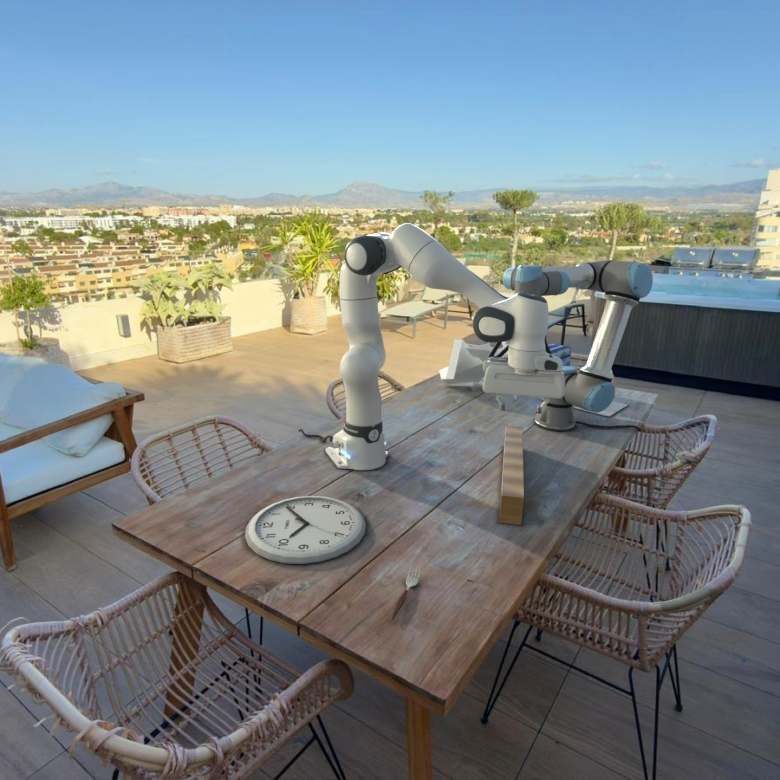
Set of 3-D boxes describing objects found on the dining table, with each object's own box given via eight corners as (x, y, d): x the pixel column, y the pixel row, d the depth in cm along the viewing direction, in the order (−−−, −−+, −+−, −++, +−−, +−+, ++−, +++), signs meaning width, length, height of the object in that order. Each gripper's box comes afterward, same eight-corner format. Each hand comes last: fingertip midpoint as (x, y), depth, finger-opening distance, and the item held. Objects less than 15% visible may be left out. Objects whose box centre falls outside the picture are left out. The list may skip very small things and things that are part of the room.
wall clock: (368, 555, 118) (233, 560, 116) (368, 561, 119) (233, 566, 116) (363, 491, 147) (255, 494, 144) (363, 496, 147) (255, 499, 145)
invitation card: (608, 416, 214) (573, 407, 224) (608, 416, 214) (573, 408, 224) (628, 404, 229) (594, 396, 238) (628, 405, 229) (594, 397, 238)
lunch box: (542, 396, 239) (547, 351, 232) (522, 391, 246) (526, 347, 240) (570, 385, 256) (575, 343, 250) (550, 380, 263) (554, 339, 257)
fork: (385, 619, 101) (385, 611, 101) (410, 571, 116) (411, 563, 115) (398, 623, 100) (398, 614, 100) (422, 574, 115) (422, 566, 114)
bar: (503, 446, 183) (505, 425, 181) (520, 447, 182) (522, 426, 180) (499, 522, 136) (501, 495, 134) (521, 525, 135) (524, 498, 132)
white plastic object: (461, 429, 252) (437, 405, 227) (444, 352, 274) (420, 323, 250) (535, 404, 240) (518, 377, 215) (510, 326, 262) (492, 293, 237)
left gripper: (482, 359, 129) (479, 411, 133) (569, 364, 125) (562, 419, 129) (484, 353, 135) (480, 404, 139) (566, 358, 131) (560, 410, 135)
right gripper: (483, 316, 161) (478, 382, 167) (568, 320, 156) (560, 388, 162) (484, 312, 168) (480, 376, 174) (565, 316, 163) (558, 382, 169)
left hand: (520, 411), depth 134 cm, fingers open, 8 cm apart
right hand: (518, 382), depth 168 cm, fingers open, 13 cm apart
